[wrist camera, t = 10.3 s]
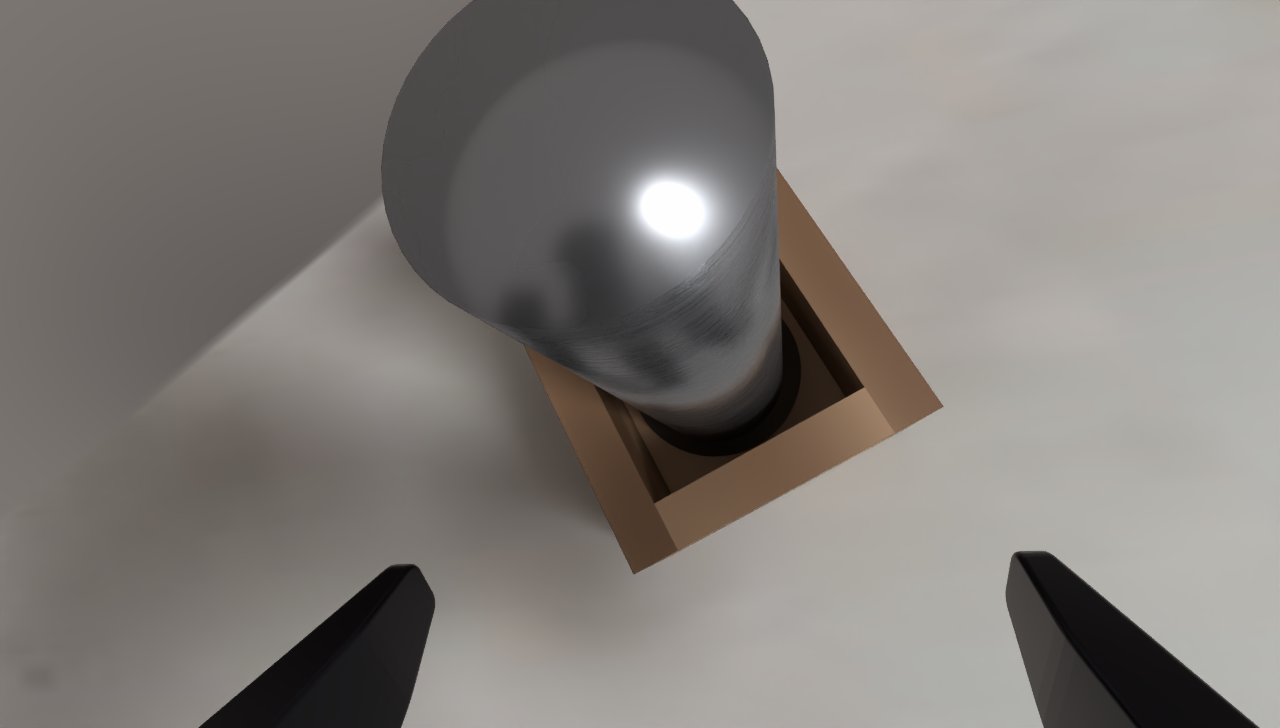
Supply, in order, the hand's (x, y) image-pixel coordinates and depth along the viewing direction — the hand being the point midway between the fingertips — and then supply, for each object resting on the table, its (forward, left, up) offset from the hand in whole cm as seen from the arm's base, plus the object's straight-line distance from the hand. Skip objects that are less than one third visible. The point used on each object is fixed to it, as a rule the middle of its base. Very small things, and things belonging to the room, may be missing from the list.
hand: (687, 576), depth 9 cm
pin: (+2, +4, -8) cm, 9 cm away
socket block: (+2, +4, -9) cm, 11 cm away
